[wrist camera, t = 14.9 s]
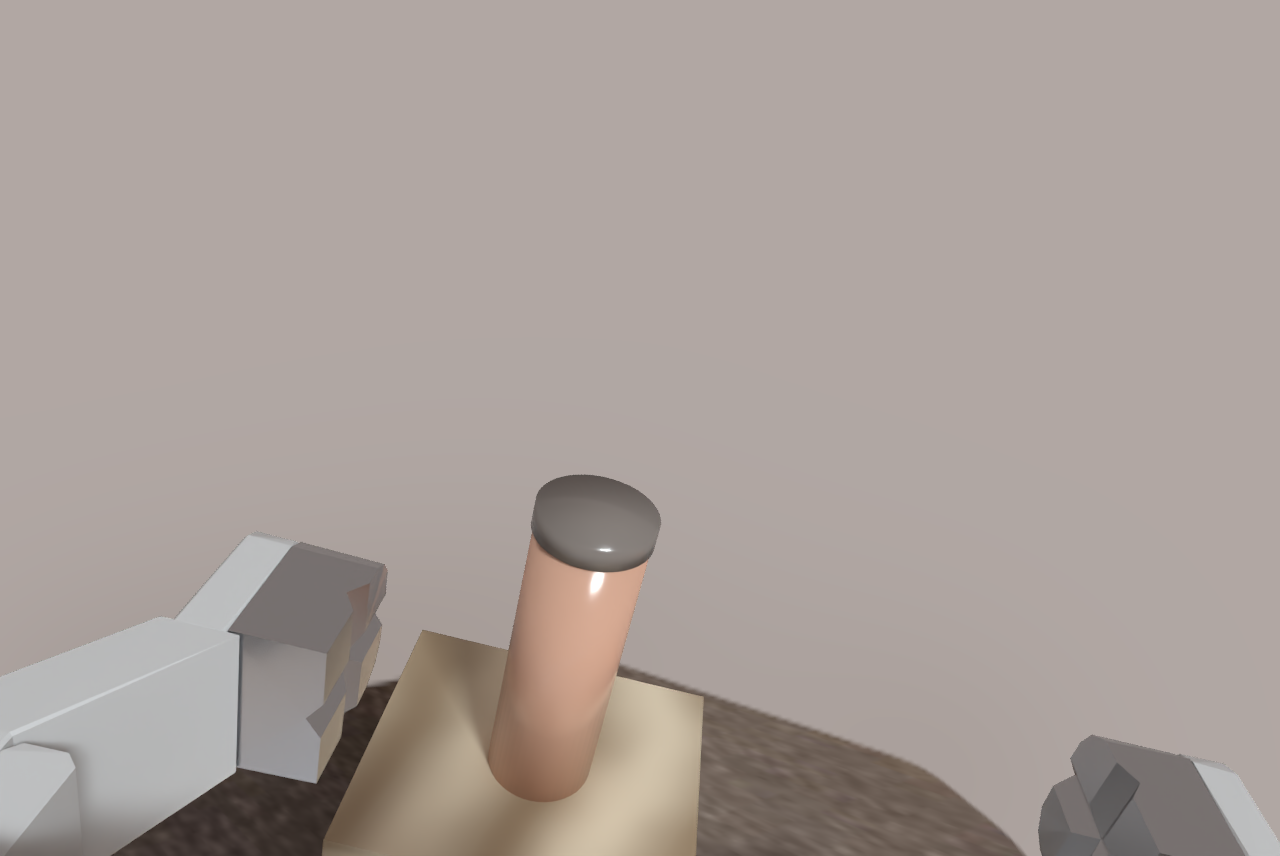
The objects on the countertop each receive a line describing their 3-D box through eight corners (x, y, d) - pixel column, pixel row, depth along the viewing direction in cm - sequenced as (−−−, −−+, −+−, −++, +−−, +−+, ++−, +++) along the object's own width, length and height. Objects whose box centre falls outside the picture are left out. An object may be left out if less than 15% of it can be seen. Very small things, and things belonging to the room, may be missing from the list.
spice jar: (473, 790, 37) (524, 531, 31) (498, 707, 41) (547, 464, 35) (585, 815, 37) (656, 561, 31) (598, 730, 41) (664, 491, 35)
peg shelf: (309, 996, 39) (323, 839, 34) (402, 772, 49) (422, 629, 45) (634, 1072, 39) (692, 926, 34) (656, 832, 49) (703, 697, 45)
